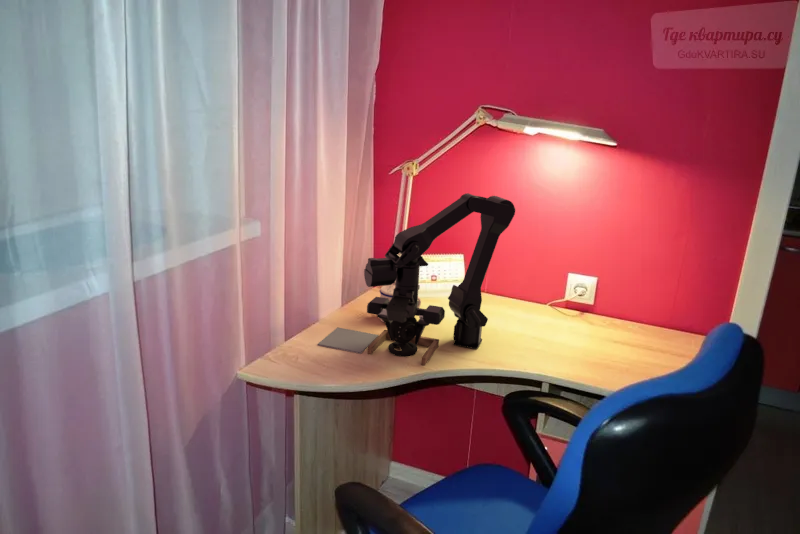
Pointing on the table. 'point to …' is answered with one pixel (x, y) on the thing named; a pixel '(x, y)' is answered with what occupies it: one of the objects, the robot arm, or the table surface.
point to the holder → (424, 341)
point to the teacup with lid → (391, 293)
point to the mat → (348, 340)
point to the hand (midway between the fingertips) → (404, 342)
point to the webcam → (403, 337)
